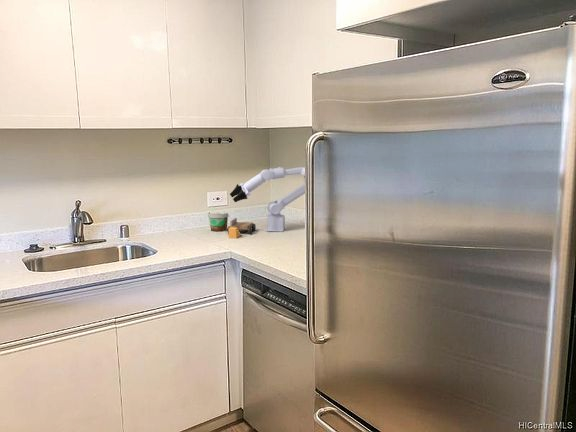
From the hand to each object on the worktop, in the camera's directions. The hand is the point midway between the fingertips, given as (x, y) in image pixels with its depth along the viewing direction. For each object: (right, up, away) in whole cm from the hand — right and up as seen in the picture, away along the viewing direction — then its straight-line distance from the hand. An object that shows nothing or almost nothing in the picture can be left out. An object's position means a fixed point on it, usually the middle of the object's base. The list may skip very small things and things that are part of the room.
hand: (232, 198), depth 251 cm
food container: (-9, -18, +8) cm, 22 cm away
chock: (+2, -21, -8) cm, 22 cm away
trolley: (+5, -19, +3) cm, 20 cm away
